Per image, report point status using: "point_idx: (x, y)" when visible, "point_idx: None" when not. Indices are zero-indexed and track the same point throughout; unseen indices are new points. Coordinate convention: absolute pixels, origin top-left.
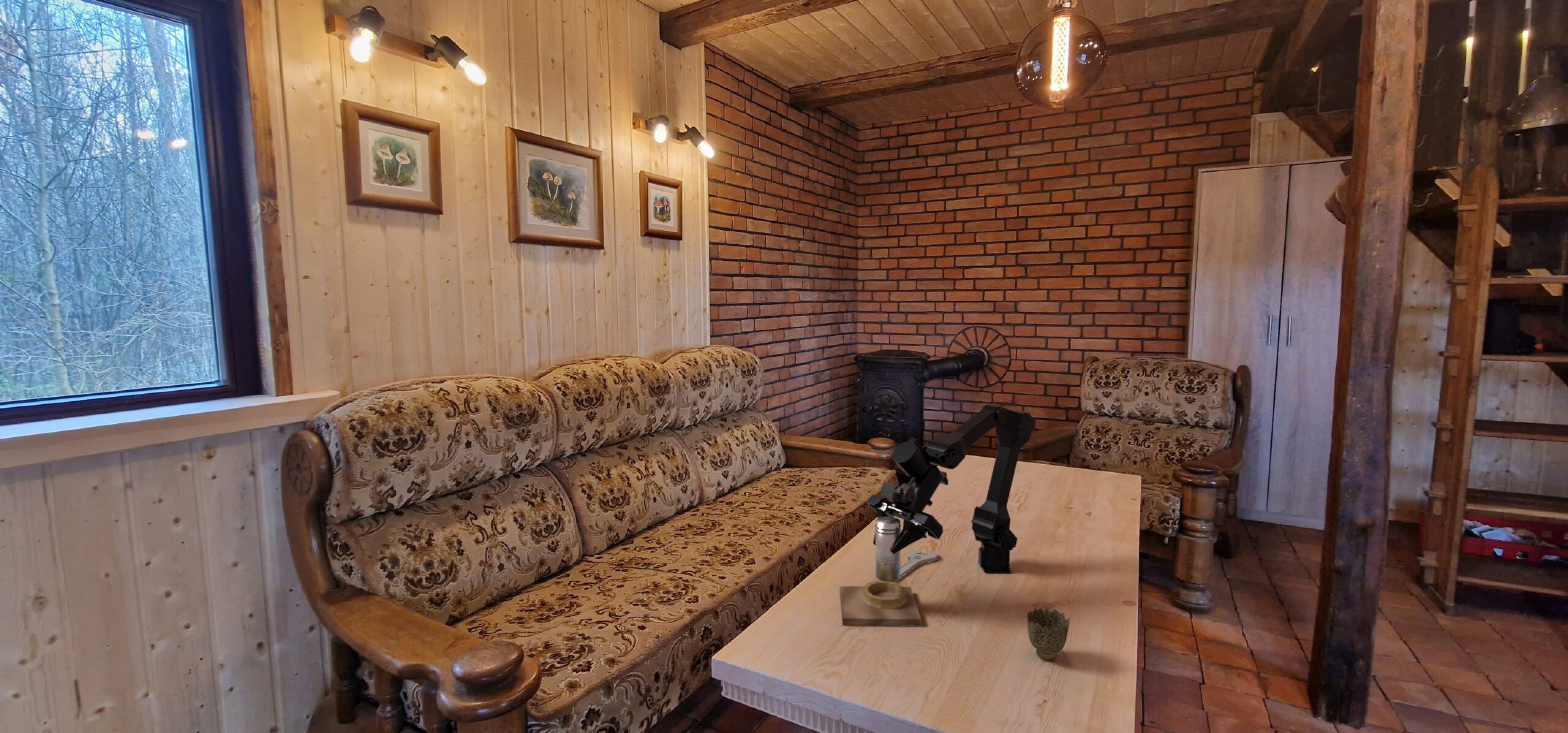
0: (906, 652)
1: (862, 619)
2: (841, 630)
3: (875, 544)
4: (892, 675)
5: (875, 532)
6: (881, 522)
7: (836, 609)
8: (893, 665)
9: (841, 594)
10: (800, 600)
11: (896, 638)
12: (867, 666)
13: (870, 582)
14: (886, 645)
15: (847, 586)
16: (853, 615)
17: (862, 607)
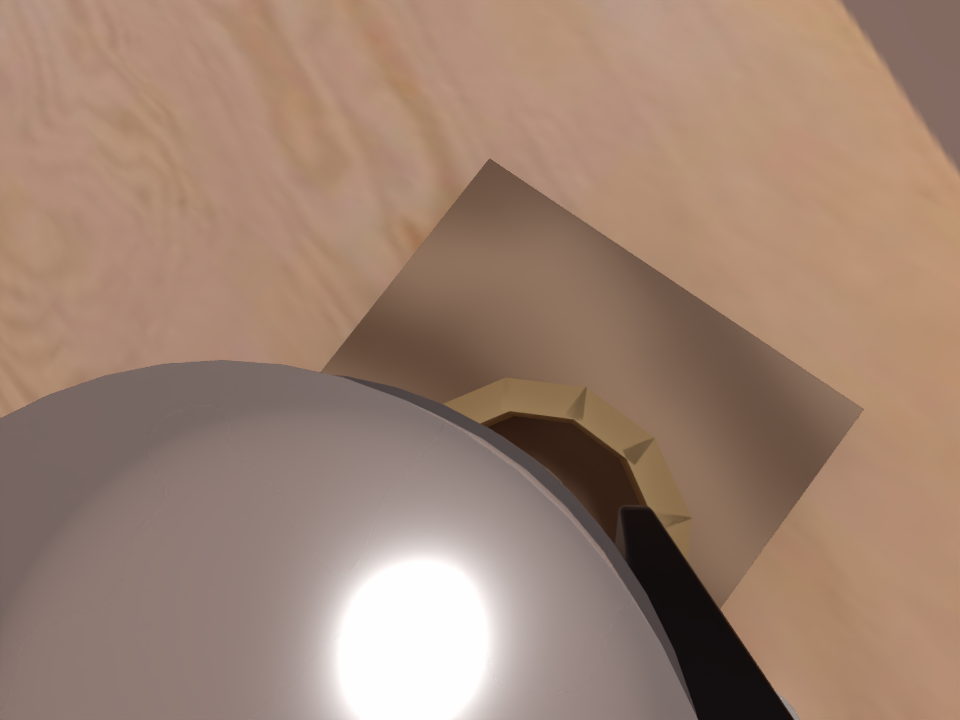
0: (125, 269)
1: (420, 247)
2: (458, 145)
3: (617, 534)
4: (57, 105)
5: (734, 645)
6: (209, 503)
7: (660, 257)
8: (99, 154)
9: (745, 337)
10: (883, 150)
11: (233, 317)
12: (164, 63)
13: (687, 542)
14: (222, 235)
15: (827, 450)
16: (477, 226)
17: (522, 332)
